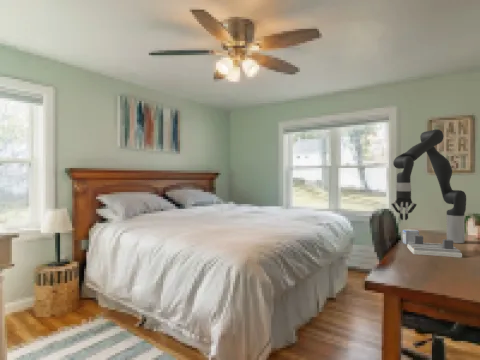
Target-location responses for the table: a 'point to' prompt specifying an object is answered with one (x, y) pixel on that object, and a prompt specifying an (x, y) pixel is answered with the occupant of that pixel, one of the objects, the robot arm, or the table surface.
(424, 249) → the switch board
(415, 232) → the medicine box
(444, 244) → the grey slider block
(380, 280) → the table surface
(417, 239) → the inner tab
